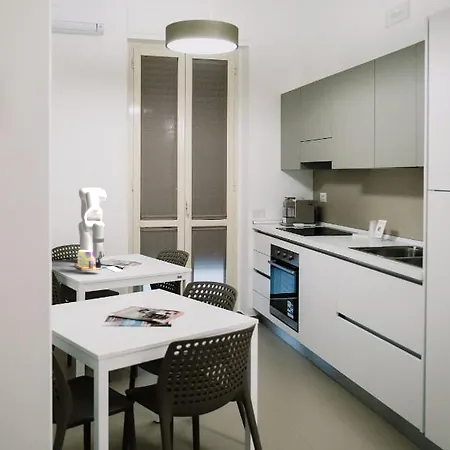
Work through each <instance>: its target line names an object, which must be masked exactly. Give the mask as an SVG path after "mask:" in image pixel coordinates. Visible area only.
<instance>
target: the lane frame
mask: <svg viewBox="0 0 450 450" xmlns="http://www.w3.org/2000/svg"><path fill="white" fill-rule="evenodd" d="M73 266H74V267H75V268H76V269H78V270H80V271H92V270H93V271H94V270H95V271H96V270H102V269H103V267H102V265H101V268H96V262H95V263H94V265H93V261H89V265H84V266H79V265H78V263H74V265H73Z"/></svg>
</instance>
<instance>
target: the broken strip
mask: <svg viewBox="0 0 450 450" xmlns="http://www.w3.org/2000/svg"><path fill="white" fill-rule="evenodd" d="M105 268H106V269H108V270H110V271H112V272H113V273H118V272H119V273H121V272H123V269H121V268H118V267H116V266H105Z"/></svg>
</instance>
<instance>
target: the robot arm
mask: <svg viewBox="0 0 450 450" xmlns="http://www.w3.org/2000/svg"><path fill="white" fill-rule="evenodd" d="M78 196H79V198H80V202H81V206H80V216H81V217H80V218H81V219H82V220H81V221H80V222H79V223H78V226H77V227H78V232H79V233H78V235H79V250H90V251H93V254H92V256H93V257H94V263H96V268H101V266H102V258H103V257H104V243H105V226H106V225H105V223H104V211H103V208H102V207H100V203H105V202H107V199H108V196H107V192H106V190H105V189H104V188H102V187H80V188H79V190H78ZM91 234H92V235H91Z"/></svg>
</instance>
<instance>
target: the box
mask: <svg viewBox="0 0 450 450" xmlns="http://www.w3.org/2000/svg"><path fill="white" fill-rule="evenodd" d="M92 254H93V251H90V250H80V249H79V250H77V265H79V266H84V265H89V261H93V265H94V261H95V257H93V256H92Z"/></svg>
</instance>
